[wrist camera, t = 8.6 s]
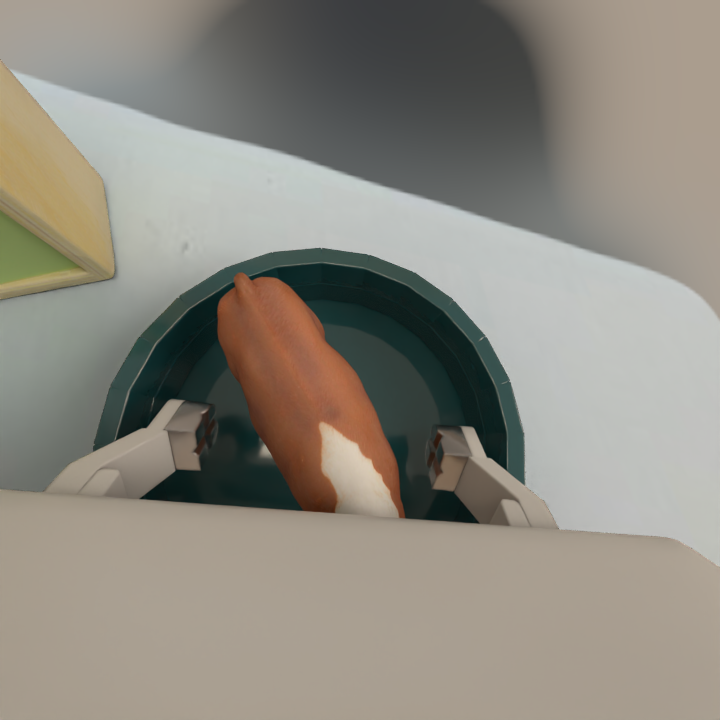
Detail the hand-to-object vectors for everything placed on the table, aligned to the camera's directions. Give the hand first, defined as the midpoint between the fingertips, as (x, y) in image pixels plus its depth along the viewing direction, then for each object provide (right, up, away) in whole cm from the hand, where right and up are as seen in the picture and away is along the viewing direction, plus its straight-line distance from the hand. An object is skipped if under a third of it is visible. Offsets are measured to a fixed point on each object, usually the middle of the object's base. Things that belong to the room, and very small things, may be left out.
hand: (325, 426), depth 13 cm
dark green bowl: (-1, -2, +5) cm, 5 cm away
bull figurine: (-1, -2, +5) cm, 5 cm away
